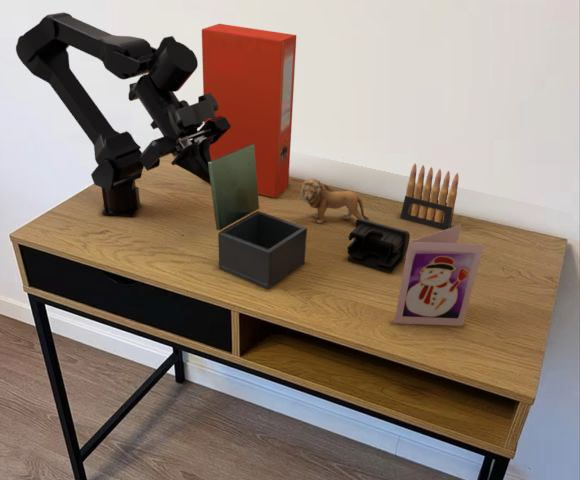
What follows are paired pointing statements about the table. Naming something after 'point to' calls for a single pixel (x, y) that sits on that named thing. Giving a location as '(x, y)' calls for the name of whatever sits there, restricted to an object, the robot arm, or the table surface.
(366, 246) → the end cap
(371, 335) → the table surface
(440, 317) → the greeting card
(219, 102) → the file binder
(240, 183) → the lid
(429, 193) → the ammunition clip
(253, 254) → the bin
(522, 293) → the table surface
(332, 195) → the lion figurine
